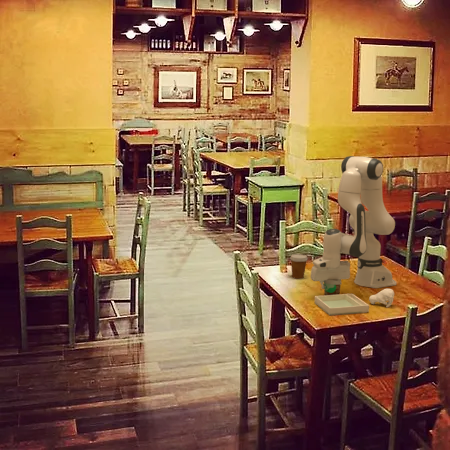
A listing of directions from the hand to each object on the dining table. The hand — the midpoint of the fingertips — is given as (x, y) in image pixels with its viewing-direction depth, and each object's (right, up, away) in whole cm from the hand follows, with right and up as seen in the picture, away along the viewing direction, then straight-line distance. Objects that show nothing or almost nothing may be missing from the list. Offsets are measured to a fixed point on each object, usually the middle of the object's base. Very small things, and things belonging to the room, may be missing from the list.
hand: (329, 288), depth 349 cm
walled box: (+3, -8, -15) cm, 17 cm away
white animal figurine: (+24, -8, -10) cm, 27 cm away
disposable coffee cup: (-13, +3, +33) cm, 35 cm away
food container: (0, -5, +1) cm, 5 cm away
